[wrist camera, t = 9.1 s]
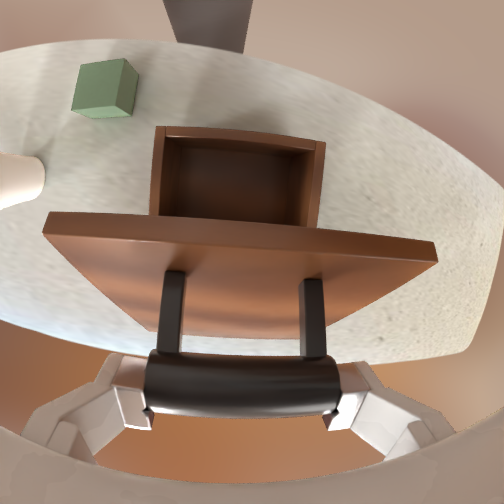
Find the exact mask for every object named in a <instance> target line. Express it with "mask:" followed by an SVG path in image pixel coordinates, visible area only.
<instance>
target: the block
mask: <svg viewBox="0 0 504 504" xmlns="http://www.w3.org/2000/svg"><path fill="white" fill-rule="evenodd" d="M138 77H139V74H138V73H137V72H136V71H135V70H134V68H133V67H132V66H131V65H130V64H129V63H128V61H127V60H126V59H116V60H108V61H101V62H95V63H89V64H83V65H81V66H80V70H79V74H78V79H77V83H76V88H75V93H74V98H73V103H72V109H71V111H74V112H76V113H79V114H81V115H84V116H86V117H89V118H91V119H96V118H109V117H126V116H132V112H133V105H134V99H135V93H136V87H137V82H138Z"/></svg>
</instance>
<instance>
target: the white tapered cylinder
mask: <svg viewBox="0 0 504 504" xmlns="http://www.w3.org/2000/svg"><path fill="white" fill-rule="evenodd" d="M44 183H45V169H44V166H43V164H42V162H41V161H40V160H39V159H38V158H36V157H33V156H22V155H16V154H10V153H4V152H0V210H1V209H4V208H6V207H9V206H12V205H15V204H17V203H20V202H23V201H28V200H32V199H34V198H36V197H37V196H38V195H39V194H40V192H41V191H42V189H43V186H44Z"/></svg>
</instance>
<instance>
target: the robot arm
mask: <svg viewBox="0 0 504 504" xmlns="http://www.w3.org/2000/svg"><path fill="white" fill-rule="evenodd" d="M147 360H148V359H147V358H141V357H134V356H128V355H121V354H116V353H110V354H109V355H108V357H107V359H106V361H105V362H104V364H103V366H102V368H101V370H100V372H99V373H98V375H97V377H96V379H95V381H94V383H92V382H88V383H87V384H85V385H83V386H81V387H79V388H77V389H75V390H73V391H71V392H69V393H67V394H65V395H63V396H61V397H59V398H57V399H55V400H53V401H51V402H49V403H47V404H45V405H43V406H41V407H39V408H37V409H35V410H34V412H33V414H32V415H31V417H30V419H29V421H28V422H27V424H26V426H25V427H24V429H23V431H22V432H21V434H20V436H19V435H17V434H15V433H13V432H11V431H10V430H7V429H6V428H4V427H2V426H0V504H504V407H502V408H500V409H499V410H497V411H496V412H494V413H492V414H491V415H489V416H487V417H486V418H484V419H482V420H480V421H478V422H477V423H475V424H473V425H471V426H469V427H468V428H466V429H464V430H462V431H460V432H457V433H456V431H455V430H454V429H453V427H452V426H451V425H450V424H449V422H448V421H447V420H446V419H445V417H444V416H443V415H442V413H441V412H439V411H437V410H435V409H433V408H430V407H428V406H426V405H424V404H422V403H420V402H417V401H416V400H413V399H411V398H409V397H407V396H405V395H403V394H401V393H399V392H397V391H395V390H393V389H391V388H389V387H388V388H385V387H384V386H383V384H382V383H381V381H380V380H379V379H378V377H377V376H376V374H375V373H374V372H373V371H372V369H371V367H370V366H369V365H368V363H367V362H365V361H358V362H351V363H343V364H337V366H338V370H339V375H340V395H339V400H338V403H337V406H336V408H335V410H334V411H333V412H331V413H330V414H323V417H322V418H323V420H324V423H325V425H326V428H327V430H328V431H331V430H339V429H346V428H350V429H351V430H352V431H353V432H355V433H356V434H357V435H359V436H360V437H361V438H362V439H364V440H365V441H366V442H368V443H369V444H370V445H372V446H373V447H374V448H376V449H377V450H378V451H380V452H381V453H382V454H384V455H385V456H386V457H385V458H384V459H383V461H382V462H380V463H377V464H373V465H370V466H366V467H362V468H358V469H354V470H350V471H345V472H341V473H336V474H330V475H325V476H320V477H313V478H306V479H300V480H291V481H281V482H267V483H247V484H245V483H243V484H227V483H201V482H188V481H178V480H169V479H162V478H155V477H148V476H143V475H138V474H132V473H127V472H123V471H119V470H114V469H110V468H106V467H103V466H99V465H98V464H97V462H96V460H95V459H94V457H93V455H95V454H96V453H97V452H98V451H99V450H100V449H102V448H103V447H104V446H105V445H106V444H108V443H109V442H110V441H111V440H112V439H113V438H114V437H116V436H117V435H118V434H119V433H120V432H121V431H123V430H124V429H125V426H126V427H132V428H139V429H146V430H151V428H152V423H153V419H154V412H151V411H149V410H148V408H147V403H146V396H145V383H144V379H145V369H146V364H147Z"/></svg>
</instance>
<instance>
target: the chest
mask: <svg viewBox="0 0 504 504" xmlns="http://www.w3.org/2000/svg"><path fill="white" fill-rule="evenodd" d="M325 149H326V143H325V142H321V141H315V140H310V139H304V138H298V137H291V136H284V135H277V134H270V133H262V132H253V131H243V130H232V129H220V128H204V127H180V126H167V127H166V126H156V130H155V139H154V148H153V159H152V170H151V184H150V200H149V215H154V216H172V217H188V218H203V219H217V220H230V221H243V222H255V223H267V224H279V225H289V226H300V227H310V228H316V227H317V220H318V212H319V204H320V196H321V188H322V179H323V169H324V159H325Z"/></svg>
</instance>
